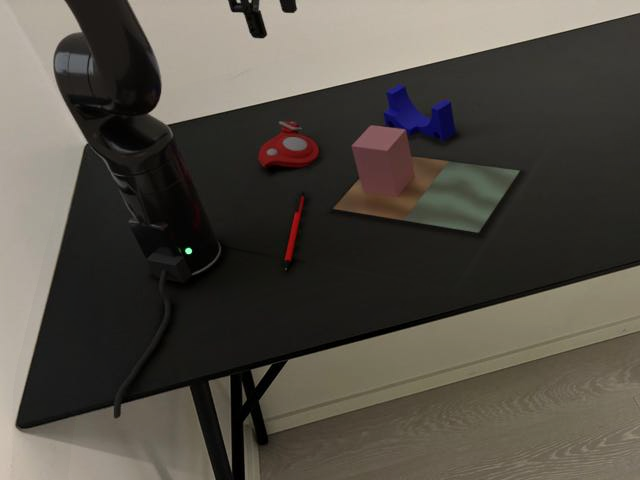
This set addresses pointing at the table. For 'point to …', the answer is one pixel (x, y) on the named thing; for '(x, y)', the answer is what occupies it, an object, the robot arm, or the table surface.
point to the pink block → (383, 160)
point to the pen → (294, 230)
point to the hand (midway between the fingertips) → (275, 24)
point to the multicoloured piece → (438, 195)
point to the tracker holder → (288, 148)
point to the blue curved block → (418, 115)
